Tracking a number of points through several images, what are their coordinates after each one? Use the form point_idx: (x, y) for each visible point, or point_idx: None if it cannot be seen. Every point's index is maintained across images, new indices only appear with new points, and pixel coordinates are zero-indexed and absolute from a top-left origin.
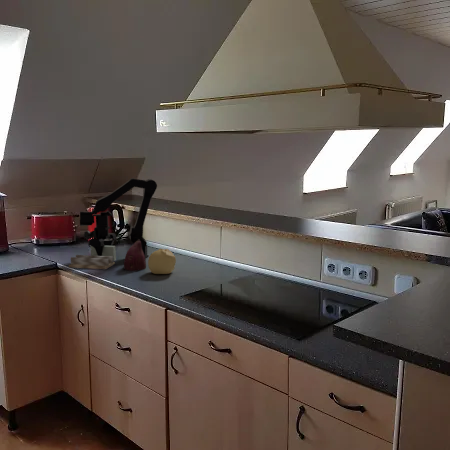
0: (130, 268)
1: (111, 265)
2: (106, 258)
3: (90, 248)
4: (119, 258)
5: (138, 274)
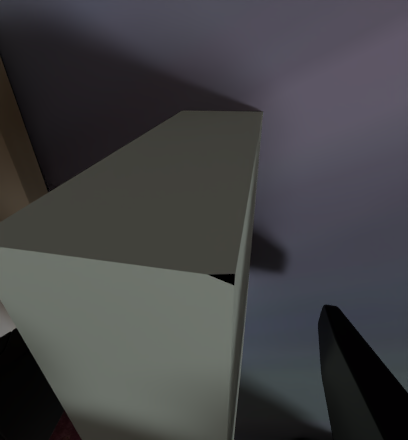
0: None
1: None
2: None
3: (59, 189)
4: (299, 377)
5: None
